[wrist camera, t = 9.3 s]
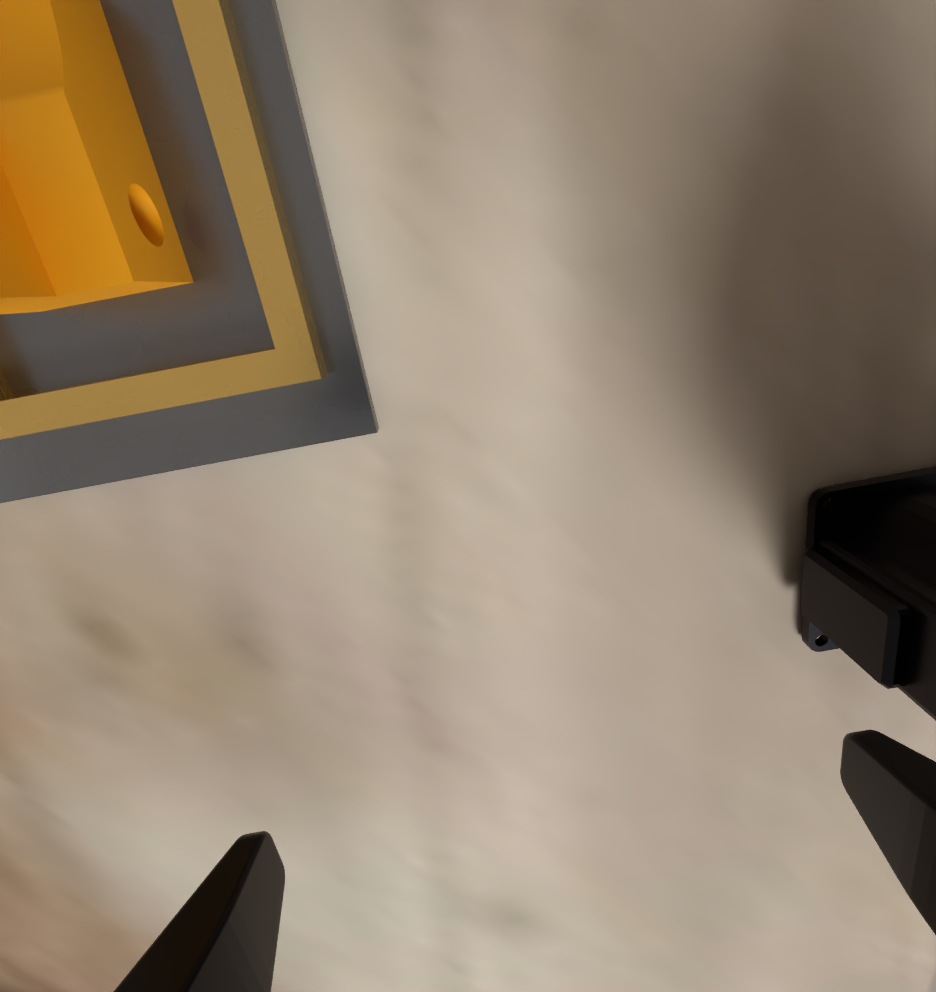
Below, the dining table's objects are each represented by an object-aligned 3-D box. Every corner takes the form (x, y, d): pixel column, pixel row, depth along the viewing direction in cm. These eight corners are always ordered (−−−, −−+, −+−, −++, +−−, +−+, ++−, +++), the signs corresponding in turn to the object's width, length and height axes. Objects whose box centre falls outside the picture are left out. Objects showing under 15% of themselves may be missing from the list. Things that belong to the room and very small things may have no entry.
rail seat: (84, -790, 10) (23, -974, 8) (378, 428, 17) (373, 441, 16) (-577, -643, 10) (-746, -798, 8) (9, 497, 18) (-28, 516, 16)
